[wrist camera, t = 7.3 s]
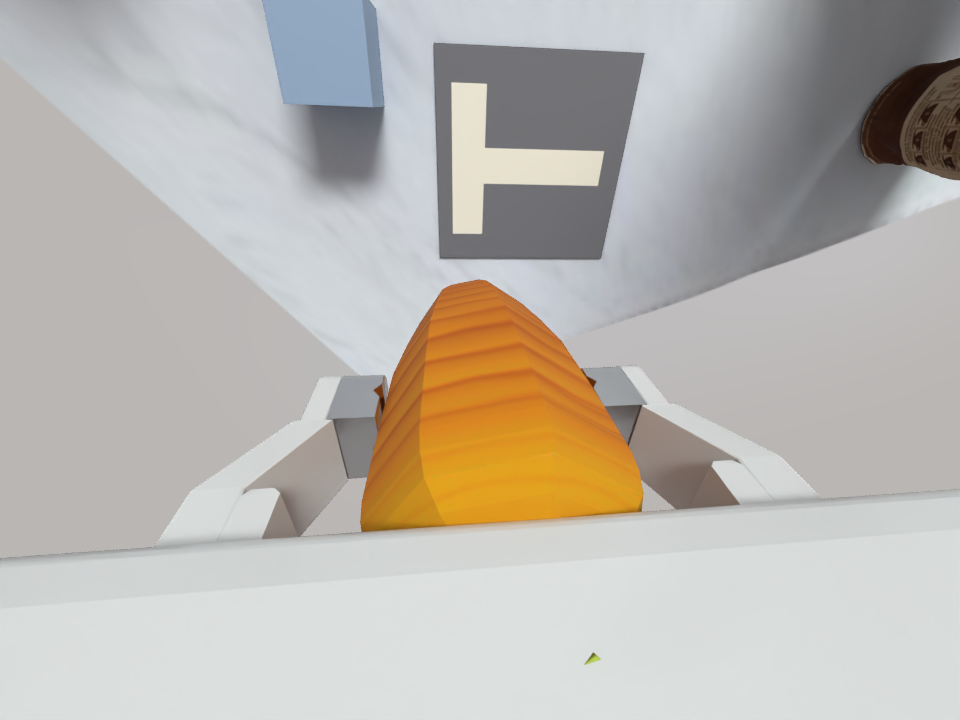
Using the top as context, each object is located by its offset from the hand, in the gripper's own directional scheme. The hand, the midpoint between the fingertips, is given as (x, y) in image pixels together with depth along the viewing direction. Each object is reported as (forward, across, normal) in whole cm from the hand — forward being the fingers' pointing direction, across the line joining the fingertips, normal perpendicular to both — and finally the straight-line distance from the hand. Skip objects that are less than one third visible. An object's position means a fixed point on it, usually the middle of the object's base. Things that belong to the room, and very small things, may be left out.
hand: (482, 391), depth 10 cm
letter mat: (+24, -6, -3) cm, 25 cm away
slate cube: (+24, +7, -9) cm, 27 cm away
